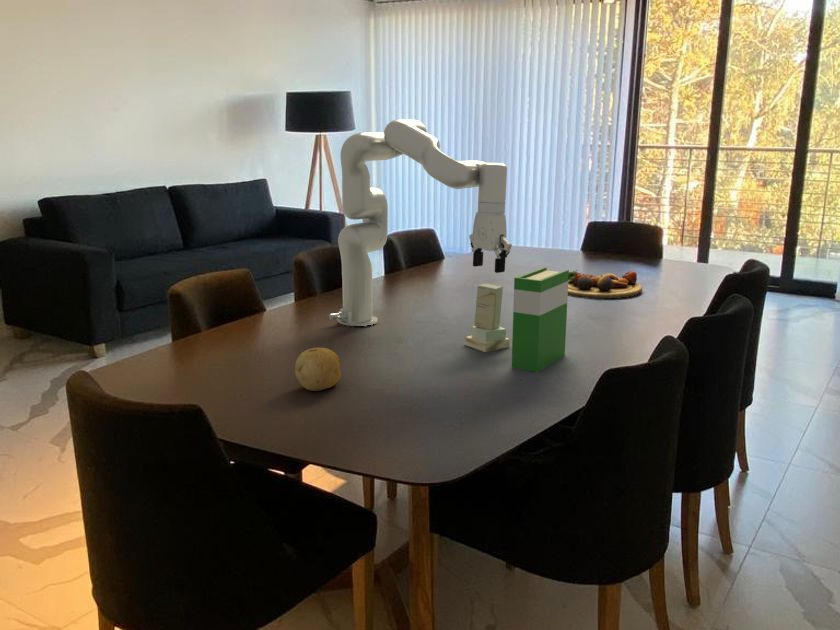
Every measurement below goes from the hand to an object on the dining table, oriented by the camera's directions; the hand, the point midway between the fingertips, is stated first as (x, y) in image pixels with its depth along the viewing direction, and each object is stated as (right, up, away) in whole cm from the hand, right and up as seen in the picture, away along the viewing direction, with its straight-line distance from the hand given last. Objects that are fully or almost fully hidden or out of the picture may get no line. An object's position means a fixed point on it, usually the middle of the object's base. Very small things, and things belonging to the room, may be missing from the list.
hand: (488, 269), depth 219 cm
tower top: (0, -19, +4) cm, 20 cm away
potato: (-44, -31, -30) cm, 61 cm away
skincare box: (0, -17, +4) cm, 17 cm away
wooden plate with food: (+49, -4, +79) cm, 93 cm away
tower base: (0, -22, +5) cm, 23 cm away
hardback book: (+13, -26, -9) cm, 30 cm away
